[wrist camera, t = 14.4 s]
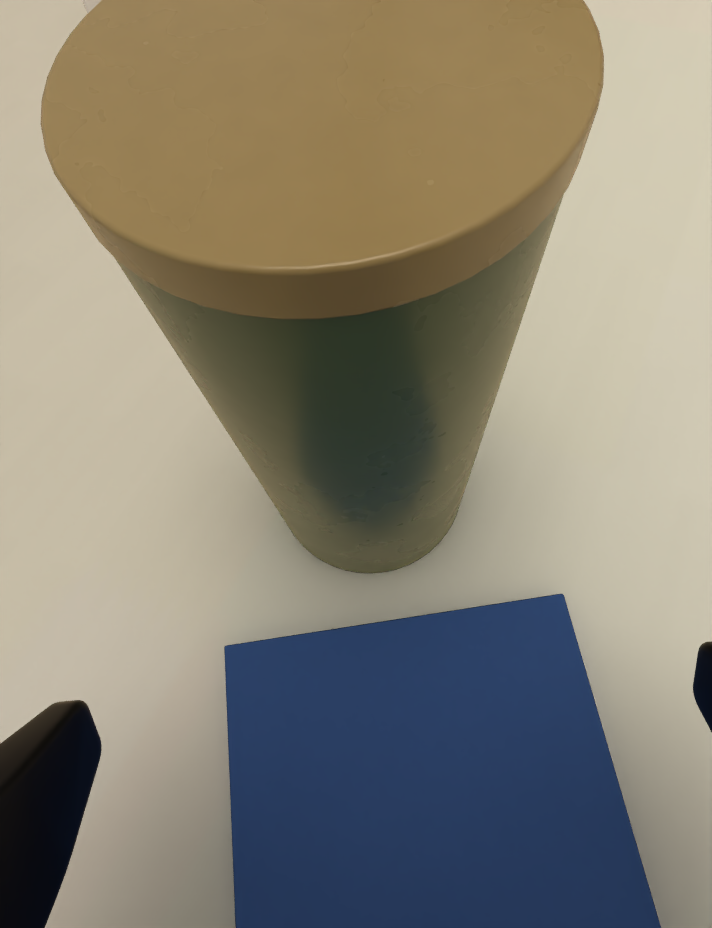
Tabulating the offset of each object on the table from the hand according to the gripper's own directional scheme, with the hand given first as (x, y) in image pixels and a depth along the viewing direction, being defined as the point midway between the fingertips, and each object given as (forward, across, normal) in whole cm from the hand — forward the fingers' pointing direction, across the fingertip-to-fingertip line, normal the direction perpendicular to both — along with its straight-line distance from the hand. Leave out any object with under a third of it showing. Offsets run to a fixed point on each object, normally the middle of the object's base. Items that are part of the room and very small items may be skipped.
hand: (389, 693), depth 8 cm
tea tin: (+10, 0, +1) cm, 10 cm away
